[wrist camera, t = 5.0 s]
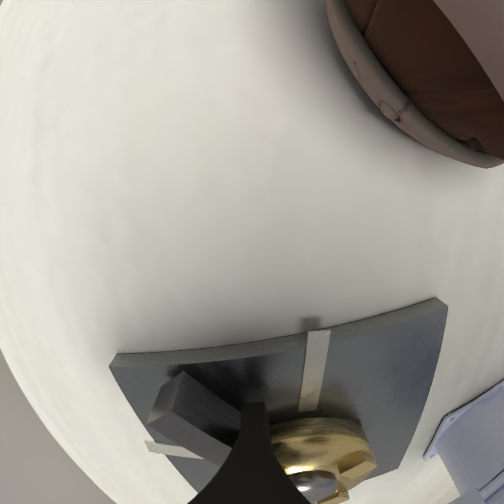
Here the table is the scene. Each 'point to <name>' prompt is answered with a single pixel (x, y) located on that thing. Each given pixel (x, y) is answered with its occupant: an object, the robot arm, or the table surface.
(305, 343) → the dark grey square plate
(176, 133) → the table surface
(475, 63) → the flowerpot
